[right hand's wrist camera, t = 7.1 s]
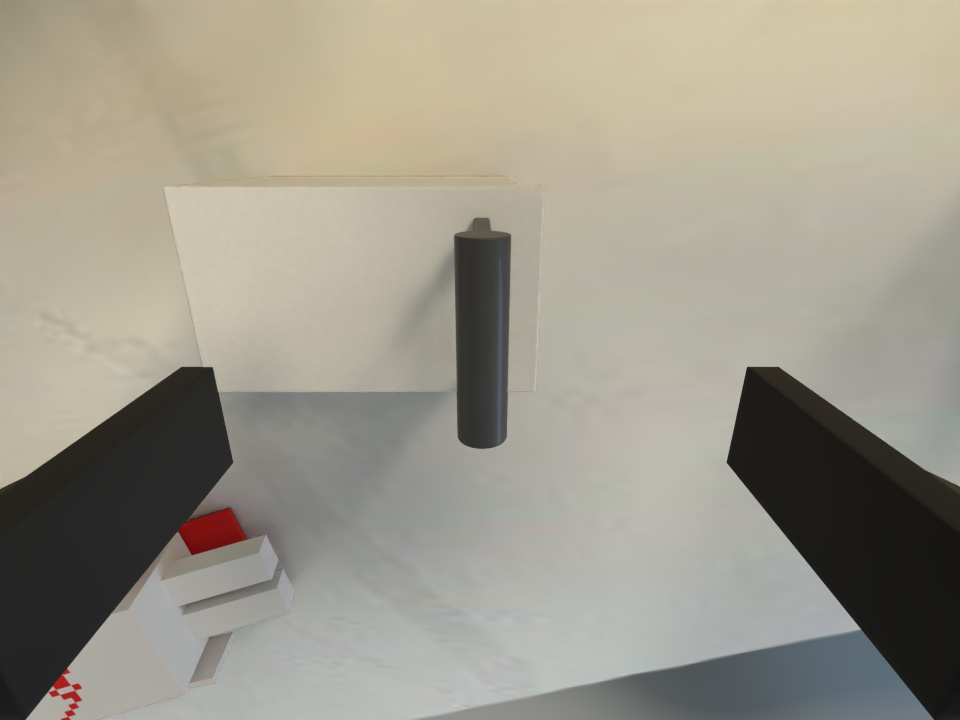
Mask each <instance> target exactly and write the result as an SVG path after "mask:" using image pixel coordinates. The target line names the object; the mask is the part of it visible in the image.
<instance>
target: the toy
mask: <svg viewBox="0 0 960 720" xmlns="http://www.w3.org/2000/svg"><path fill="white" fill-rule="evenodd" d="M277 563H278V558H277V556H276V553H275V551H274V549H273V547H272V545H271V543H270V541H269V539H268V537H267V535H266V534H265V535H262V536H258V537H255V538H251V539H248V540H247V538H246V536H245V535H244V533H243V531H242V529H241V527H240V525H239V524H238V522H237V520H236V518H235V516H234V515H233V513H232V511H231V509H230V508H228V509H225V510H222V511H219V512H216V513H213V514H209V515H206V516H203V517H200V518H197V519H194V520H191V521H188V522H185V523H184V524H183V526H182V527H181V528H180V529H179V530H178V532H177V533H176V534H175V535H174V537H173V538H172V539H171V540H170V542H169V543H168V544H167V545H166V547H165V548H164V549H163V550H162V552H161V553H160V554H159V555H158V556H157V558H156V559H155V560H154V561H153V563H152V564H151V565H150V566H149V568H148V569H147V570H146V571H145V573H144V574H143V575H142V576H141V578H140V579H139V580H138V581H137V583H136V584H135V585H134V586H133V587H132V589H131V590H130V591H129V592H128V594H127V595H126V596H125V597H124V599H123V600H122V601H121V602H120V604H119V605H118V606H117V607H116V609H115V610H114V611H113V612H112V613H111V615H110V616H109V617H108V618H107V620H106V621H105V622H104V623H103V625H102V626H101V627H100V628H99V630H98V631H97V632H96V633H95V635H94V636H93V637H92V638H91V639H90V641H89V642H88V643H87V644H86V646H85V647H84V648H83V649H82V651H81V652H80V653H79V654H78V656H77V657H76V658H75V659H74V661H73V662H72V663H71V664H70V666H69V667H68V668H67V669H66V670H65V672H64V673H63V674H62V675H61V677H60V678H59V679H58V680H57V682H56V683H55V684H54V685H53V687H52V688H51V689H50V690H49V692H48V693H47V694H46V695H45V696H44V698H43V699H42V700H41V701H40V703H39V704H38V705H37V706H36V708H35V709H34V710H33V711H32V713H31V714H30V715H29V716H28V718H27V719H26V720H99V719H103V718H106V717H109V716H113V715H116V714H119V713H123V712H126V711H130V710H133V709H136V708H140V707H143V706H146V705H150V704H153V703H156V702H160V701H163V700H166V699H170V698H173V697H176V696H180V695H183V694H185V692H186V689H190V688H195V687H199V686H204V685H209V684H213V683H215V682H216V680H217V677H218V675H219V672H220V670H221V668H222V665H223V663H224V661H225V658H226V656H227V653H228V651H229V649H230V646H231V644H232V642H233V639H234V635H233V633H228V634H223V635H218V636H214V637H210V636H213V635H216V634H220V633H223V632H227V631H230V630H233V629H237V628H240V627H244V626H247V625H250V624H254V623H257V622H260V621H264V620H267V619H271V618H274V617H277V616H281V615H284V614H288V613H290V609H291V605H292V602H293V598H294V594H295V592H294V590H293V588H292V586H291V584H290V582H289V580H288V578H287V576H286V574H285V572H284V570H283V569H280V570H277V571H275V569H276V566H277Z"/></svg>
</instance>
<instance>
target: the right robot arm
mask: <svg viewBox="0 0 960 720" xmlns="http://www.w3.org/2000/svg"><path fill="white" fill-rule="evenodd" d="M232 464H233V459H232V455H231V450H230V445H229V440H228V436H227V431H226V426H225V422H224V417H223V412H222V408H221V403H220V398H219V393H218V389H217V384H216V379H215V375H214V370H213V367H181V368H179V369H178V370H177V371H175V372H174V373H172V374H171V375H170V376H168V377H167V378H165V379H164V380H162V381H161V382H160V383H158V384H157V385H155V386H154V387H153V388H151V389H150V390H148V391H147V392H145V393H144V394H143V395H141V396H140V397H138V398H137V399H135V400H134V401H133V402H131V403H130V404H128V405H127V406H126V407H124V408H123V409H121V410H120V411H118V412H117V413H116V414H114V415H113V416H111V417H110V418H108V419H107V420H106V421H104V422H103V423H101V424H100V425H99V426H97V427H96V428H94V429H93V430H91V431H90V432H89V433H87V434H86V435H84V436H83V437H82V438H80V439H79V440H77V441H76V442H74V443H73V444H72V445H70V446H69V447H67V448H66V449H64V450H63V451H62V452H60V453H59V454H57V455H56V456H55V457H53V458H52V459H50V460H49V461H47V462H46V463H45V464H43V465H42V466H40V467H39V468H37V469H36V470H35V471H33V472H32V473H30V474H29V475H28V476H26V477H24V478H22V479H20V480H18V481H16V482H14V483H12V484H10V485H7V486H5V487H3V488H2V489H0V720H26V719H27V718H28V716H29V715H30V714H31V713H32V711H33V710H34V709H35V708H36V706H37V705H38V704H39V703H40V701H41V700H42V699H43V698H44V696H45V695H46V694H47V693H48V692H49V690H50V689H51V688H52V687H53V685H54V684H55V683H56V682H57V680H58V679H59V678H60V677H61V675H62V674H63V673H64V672H65V670H66V669H67V668H68V667H69V666H70V664H71V663H72V662H73V661H74V659H75V658H76V657H77V656H78V654H79V653H80V652H81V651H82V649H83V648H84V647H85V646H86V644H87V643H88V642H89V641H90V639H91V638H92V637H93V636H94V635H95V633H96V632H97V631H98V630H99V628H100V627H101V626H102V625H103V623H104V622H105V621H106V620H107V618H108V617H109V616H110V615H111V613H112V612H113V611H114V610H115V609H116V607H117V606H118V605H119V604H120V602H121V601H122V600H123V599H124V597H125V596H126V595H127V594H128V592H129V591H130V590H131V589H132V587H133V586H134V585H135V584H136V583H137V581H138V580H139V579H140V578H141V576H142V575H143V574H144V573H145V571H146V570H147V569H148V568H149V566H150V565H151V564H152V563H153V561H154V560H155V559H156V558H157V556H158V555H159V554H160V553H161V552H162V550H163V549H164V548H165V547H166V545H167V544H168V543H169V542H170V540H171V539H172V538H173V537H174V535H175V534H176V533H177V532H178V530H179V529H180V528H181V527H182V526H183V524H184V523H185V522H186V521H187V519H188V518H189V517H190V516H191V514H192V513H193V512H194V511H195V509H196V508H197V507H198V506H199V504H200V503H201V502H202V501H203V499H204V498H205V497H206V496H207V495H208V493H209V492H210V491H211V490H212V488H213V487H214V486H215V485H216V483H217V482H218V481H219V480H220V478H221V477H222V476H223V475H224V473H225V472H226V471H227V470H228V469H229V467H230V466H231V465H232ZM727 464H728V465H729V466H730V467H731V469H732V470H733V471H734V472H735V473H736V475H737V476H738V477H739V478H740V480H741V481H742V482H743V483H744V485H745V486H746V487H747V488H748V490H749V491H750V492H751V493H752V495H753V496H754V497H755V498H756V499H757V501H758V502H759V503H760V504H761V506H762V507H763V508H764V509H765V511H766V512H767V513H768V514H769V516H770V517H771V518H772V519H773V521H774V522H775V523H776V524H777V526H778V527H779V528H780V529H781V530H782V532H783V533H784V534H785V535H786V537H787V538H788V539H789V540H790V542H791V543H792V544H793V545H794V547H795V548H796V549H797V550H798V552H799V553H800V554H801V555H802V556H803V558H804V559H805V560H806V561H807V563H808V564H809V565H810V566H811V568H812V569H813V570H814V571H815V573H816V574H817V575H818V576H819V578H820V579H821V580H822V581H823V583H824V584H825V585H826V586H827V587H828V589H829V590H830V591H831V592H832V594H833V595H834V596H835V597H836V599H837V600H838V601H839V602H840V604H841V605H842V606H843V607H844V609H845V610H846V611H847V612H848V613H849V615H850V616H851V617H852V618H853V620H854V621H855V622H856V623H857V625H858V626H859V627H860V628H861V630H862V631H863V632H864V633H865V635H866V636H867V637H868V638H869V639H870V641H871V642H872V643H873V644H874V646H875V647H876V648H877V649H878V651H879V652H880V653H881V654H882V656H883V657H884V658H885V659H886V661H887V662H888V663H889V664H890V666H891V667H892V668H893V669H894V670H895V672H896V673H897V674H898V675H899V677H900V678H901V679H902V680H903V682H904V683H905V684H906V685H907V687H908V688H909V689H910V690H911V691H912V693H913V694H914V695H915V696H916V698H917V699H918V700H919V701H920V703H921V704H922V705H923V706H924V708H925V709H926V710H927V711H928V713H929V714H930V715H931V716H932V718H933V719H934V720H960V487H959V486H957V485H955V484H953V483H951V482H949V481H947V480H945V479H943V478H940V477H938V476H936V475H934V474H932V473H930V472H928V471H926V470H924V469H923V468H921V467H920V466H918V465H917V464H915V463H914V462H913V461H911V460H910V459H908V458H907V457H905V456H904V455H903V454H901V453H900V452H898V451H897V450H896V449H894V448H893V447H891V446H890V445H888V444H887V443H886V442H884V441H883V440H881V439H880V438H878V437H877V436H876V435H874V434H873V433H871V432H870V431H869V430H867V429H866V428H864V427H863V426H861V425H860V424H859V423H857V422H856V421H854V420H853V419H852V418H850V417H849V416H847V415H846V414H844V413H843V412H842V411H840V410H839V409H837V408H836V407H834V406H833V405H832V404H830V403H829V402H827V401H826V400H825V399H823V398H822V397H820V396H819V395H817V394H816V393H815V392H813V391H812V390H810V389H809V388H807V387H806V386H805V385H803V384H802V383H800V382H799V381H798V380H796V379H795V378H793V377H792V376H790V375H789V374H788V373H786V372H785V371H783V370H782V369H781V368H779V367H747V370H746V375H745V379H744V384H743V389H742V393H741V398H740V403H739V408H738V412H737V417H736V422H735V426H734V431H733V436H732V440H731V445H730V450H729V454H728V459H727Z"/></svg>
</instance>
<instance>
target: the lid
mask: <svg viewBox="0 0 960 720" xmlns="http://www.w3.org/2000/svg"><path fill="white" fill-rule="evenodd" d="M163 191H164V195H165V200H166V204H167V209H168V213H169V218H170V222H171V227H172V231H173V236H174V240H175V245H176V249H177V254H178V259H179V263H180V268H181V272H182V277H183V281H184V286H185V290H186V295H187V299H188V304H189V308H190V313H191V317H192V322H193V326H194V331H195V335H196V340H197V344H198V349H199V353H200V358H201V362H202V367H213V370H214V375H215V379H216V384H217V389H218V392H457V426H458V439H459V440H460V442H461V443H463V444H464V445H466V446H469V447H472V448H479V449H486V448H492V447H496V446H498V445H500V444H502V443H503V442H504V441H505V440H506V437H507V402H508V392H535V391H536V371H537V349H538V327H539V305H540V282H541V260H542V238H543V216H544V194H545V188H544V187H543V186H541V185H176V186H165V187H163Z"/></svg>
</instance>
